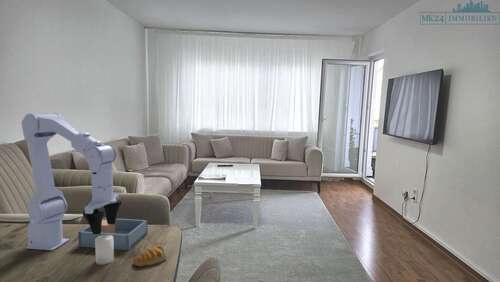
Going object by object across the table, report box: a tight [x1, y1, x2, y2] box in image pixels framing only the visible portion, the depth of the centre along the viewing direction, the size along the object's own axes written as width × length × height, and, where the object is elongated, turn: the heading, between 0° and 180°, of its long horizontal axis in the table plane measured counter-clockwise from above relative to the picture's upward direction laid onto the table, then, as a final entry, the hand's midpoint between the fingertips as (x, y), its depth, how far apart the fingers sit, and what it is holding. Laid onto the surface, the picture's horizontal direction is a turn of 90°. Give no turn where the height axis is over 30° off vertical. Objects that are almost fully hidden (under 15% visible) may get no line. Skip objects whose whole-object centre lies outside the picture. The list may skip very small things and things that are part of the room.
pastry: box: [133, 244, 168, 267], centre depth 93 cm, size 9×7×4 cm
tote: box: [77, 217, 149, 251], centre depth 107 cm, size 18×14×5 cm
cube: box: [101, 220, 115, 234], centre depth 107 cm, size 5×5×5 cm
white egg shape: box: [94, 235, 115, 265], centre depth 92 cm, size 5×5×7 cm
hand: (104, 228), depth 93 cm, fingers open, 7 cm apart
